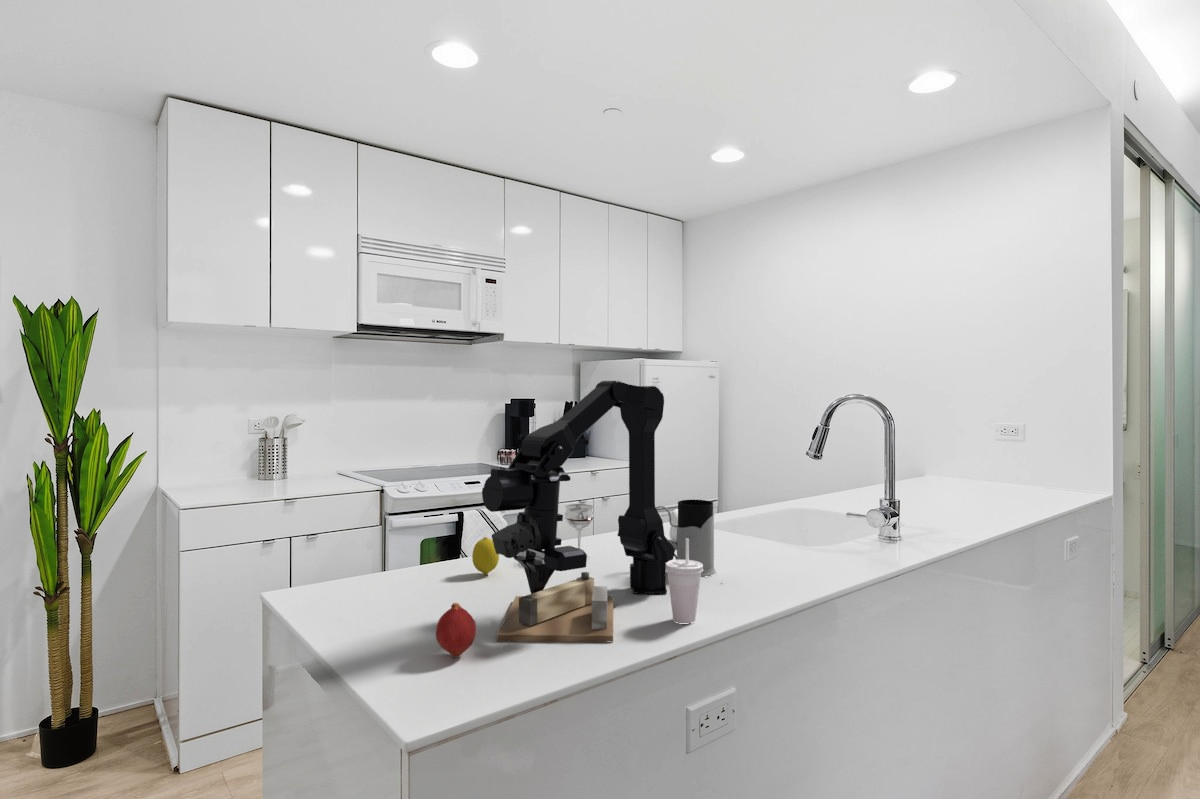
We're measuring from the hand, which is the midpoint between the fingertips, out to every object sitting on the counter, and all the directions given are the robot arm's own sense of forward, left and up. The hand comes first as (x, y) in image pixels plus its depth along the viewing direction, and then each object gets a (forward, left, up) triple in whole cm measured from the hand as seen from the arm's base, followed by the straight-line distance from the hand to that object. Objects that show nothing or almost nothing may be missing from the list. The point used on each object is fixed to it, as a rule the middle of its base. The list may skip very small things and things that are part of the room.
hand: (535, 599), depth 115 cm
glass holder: (-28, -33, -4) cm, 43 cm away
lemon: (+14, -29, -4) cm, 32 cm away
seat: (-4, -1, -4) cm, 6 cm away
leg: (-4, -1, -2) cm, 5 cm away
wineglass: (-5, -44, -4) cm, 44 cm away
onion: (+10, +15, -4) cm, 19 cm away
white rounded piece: (-32, -59, -4) cm, 67 cm away
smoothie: (-25, -1, -4) cm, 25 cm away
